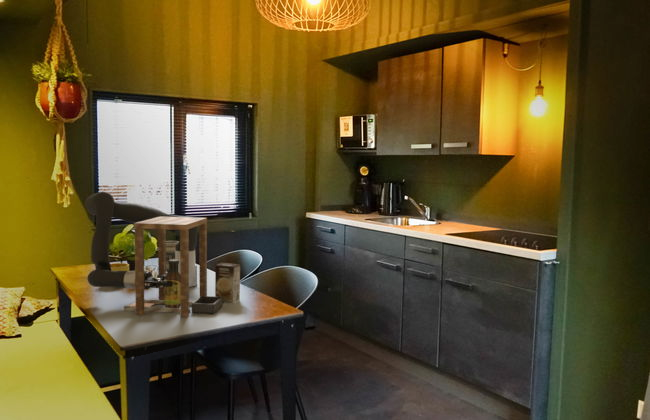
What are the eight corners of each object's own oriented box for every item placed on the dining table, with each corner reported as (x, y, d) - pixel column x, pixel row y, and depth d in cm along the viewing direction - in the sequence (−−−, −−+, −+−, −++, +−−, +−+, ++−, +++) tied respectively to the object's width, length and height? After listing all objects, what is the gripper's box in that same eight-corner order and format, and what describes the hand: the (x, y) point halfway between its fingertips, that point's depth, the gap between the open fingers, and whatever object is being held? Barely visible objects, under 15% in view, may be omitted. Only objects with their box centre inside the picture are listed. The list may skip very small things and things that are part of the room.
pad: (124, 309, 222) (124, 308, 222) (135, 302, 232) (134, 301, 232) (145, 310, 221) (145, 309, 221) (155, 303, 231) (155, 302, 231)
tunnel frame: (116, 314, 214) (114, 222, 211) (143, 298, 239) (142, 215, 236) (186, 317, 212) (186, 224, 208) (207, 301, 236) (207, 217, 233)
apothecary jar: (154, 276, 282) (153, 242, 281) (171, 272, 293) (171, 239, 291) (170, 279, 276) (170, 244, 274) (188, 275, 286) (188, 241, 285)
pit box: (191, 313, 218) (191, 303, 218) (201, 305, 230) (201, 295, 230) (213, 314, 217) (213, 304, 217) (222, 306, 229) (222, 296, 229)
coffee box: (214, 301, 236) (214, 264, 234) (221, 298, 242) (221, 262, 240) (233, 304, 233) (233, 266, 231) (240, 300, 239) (240, 263, 237)
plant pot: (118, 288, 256) (118, 267, 255) (101, 286, 260) (100, 265, 259) (134, 284, 266) (133, 264, 265) (117, 281, 270) (116, 262, 269)
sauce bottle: (162, 309, 222) (161, 260, 220) (168, 305, 228) (168, 258, 227) (177, 310, 221) (177, 261, 220) (183, 306, 228) (183, 258, 226)
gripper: (130, 274, 218) (169, 276, 216) (145, 267, 232) (182, 269, 230) (130, 293, 219) (169, 295, 217) (145, 285, 233) (182, 286, 231)
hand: (176, 281), depth 224 cm, fingers open, 8 cm apart
